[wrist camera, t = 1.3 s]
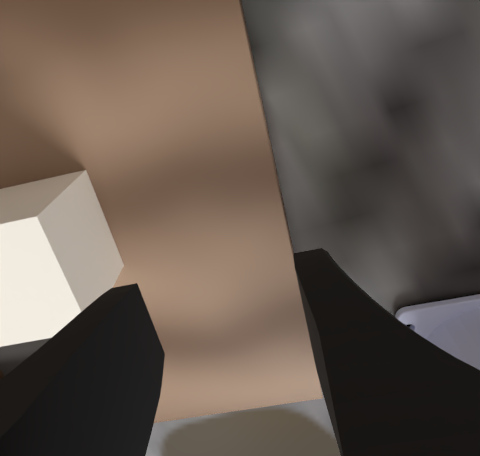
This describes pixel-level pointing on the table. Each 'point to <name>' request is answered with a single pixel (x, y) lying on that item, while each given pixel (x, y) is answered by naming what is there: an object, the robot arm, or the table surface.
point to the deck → (166, 183)
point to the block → (52, 256)
